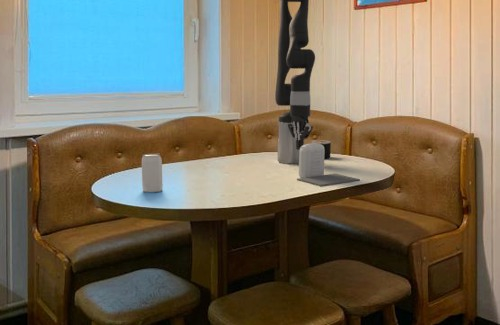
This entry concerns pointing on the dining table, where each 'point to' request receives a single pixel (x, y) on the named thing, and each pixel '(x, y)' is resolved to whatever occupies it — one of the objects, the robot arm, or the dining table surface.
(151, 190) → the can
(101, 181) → the dining table surface
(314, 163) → the photo printer
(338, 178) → the mat
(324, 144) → the sushi
